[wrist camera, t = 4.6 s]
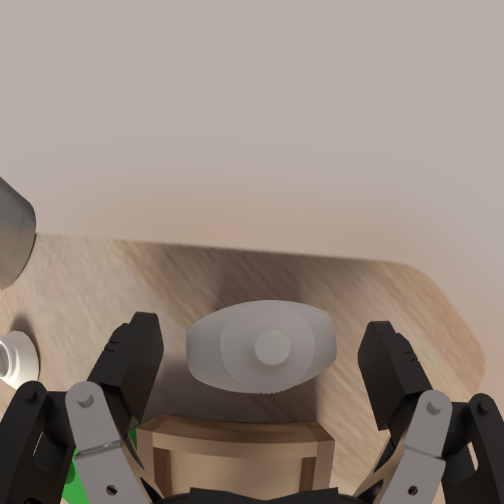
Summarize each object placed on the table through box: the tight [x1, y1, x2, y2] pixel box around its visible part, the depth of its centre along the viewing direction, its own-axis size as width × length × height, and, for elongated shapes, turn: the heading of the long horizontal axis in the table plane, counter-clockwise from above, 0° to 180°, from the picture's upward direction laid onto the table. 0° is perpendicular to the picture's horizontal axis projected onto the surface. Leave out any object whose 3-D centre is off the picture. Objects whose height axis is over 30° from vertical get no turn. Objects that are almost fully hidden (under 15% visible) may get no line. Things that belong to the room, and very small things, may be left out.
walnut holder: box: [136, 413, 335, 500], centre depth 11 cm, size 10×10×4 cm
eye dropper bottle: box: [186, 299, 337, 395], centre depth 11 cm, size 4×6×12 cm
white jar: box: [0, 331, 39, 389], centre depth 14 cm, size 5×3×5 cm
